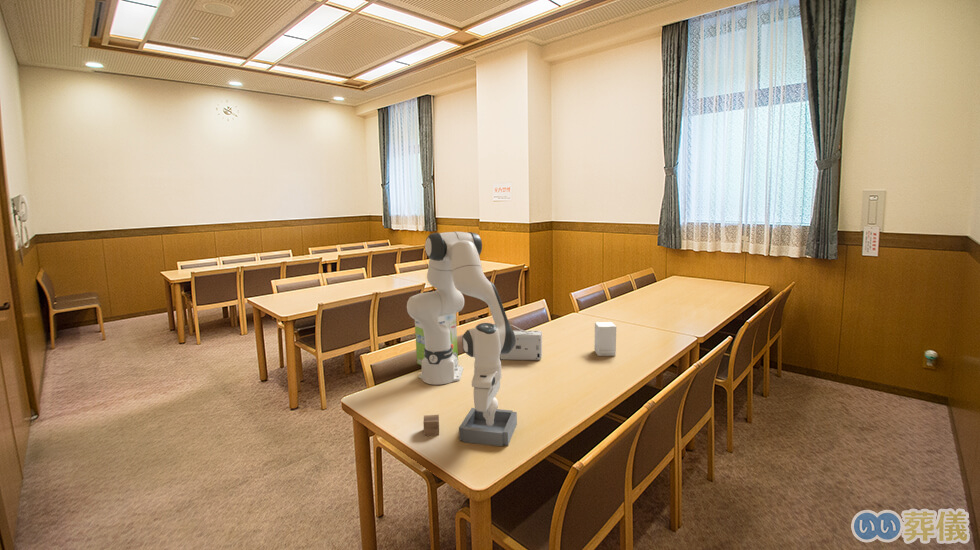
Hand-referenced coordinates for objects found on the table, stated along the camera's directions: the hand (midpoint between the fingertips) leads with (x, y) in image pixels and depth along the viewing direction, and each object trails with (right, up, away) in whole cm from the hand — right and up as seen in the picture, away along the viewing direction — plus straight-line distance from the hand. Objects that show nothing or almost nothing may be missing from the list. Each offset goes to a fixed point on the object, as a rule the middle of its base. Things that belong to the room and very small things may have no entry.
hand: (488, 412), depth 156 cm
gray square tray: (0, -7, +1) cm, 7 cm away
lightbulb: (0, -5, +2) cm, 5 cm away
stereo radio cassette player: (+15, +5, +73) cm, 74 cm away
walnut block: (-19, -7, +2) cm, 21 cm away
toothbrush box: (-25, +4, +68) cm, 73 cm away
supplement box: (+58, +7, +77) cm, 97 cm away
